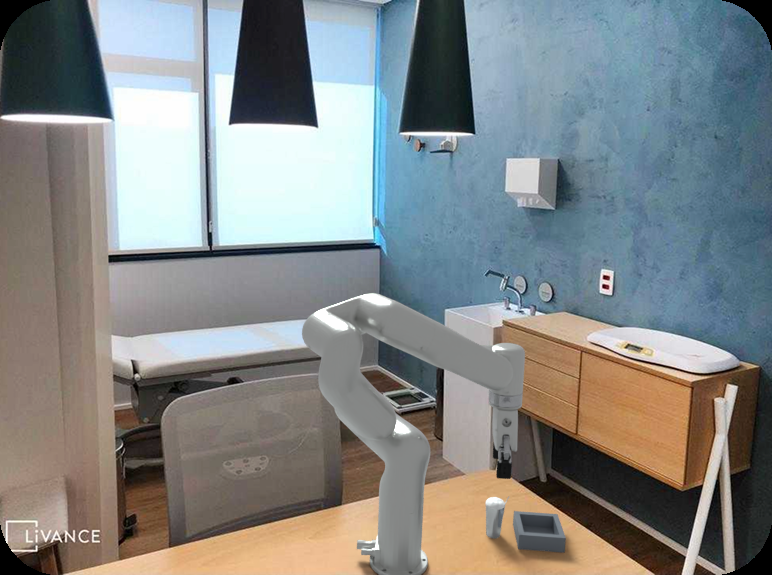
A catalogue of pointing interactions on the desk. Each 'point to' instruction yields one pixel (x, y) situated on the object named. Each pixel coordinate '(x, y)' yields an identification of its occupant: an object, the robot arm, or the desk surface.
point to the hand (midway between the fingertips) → (501, 468)
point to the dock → (538, 531)
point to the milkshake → (494, 516)
